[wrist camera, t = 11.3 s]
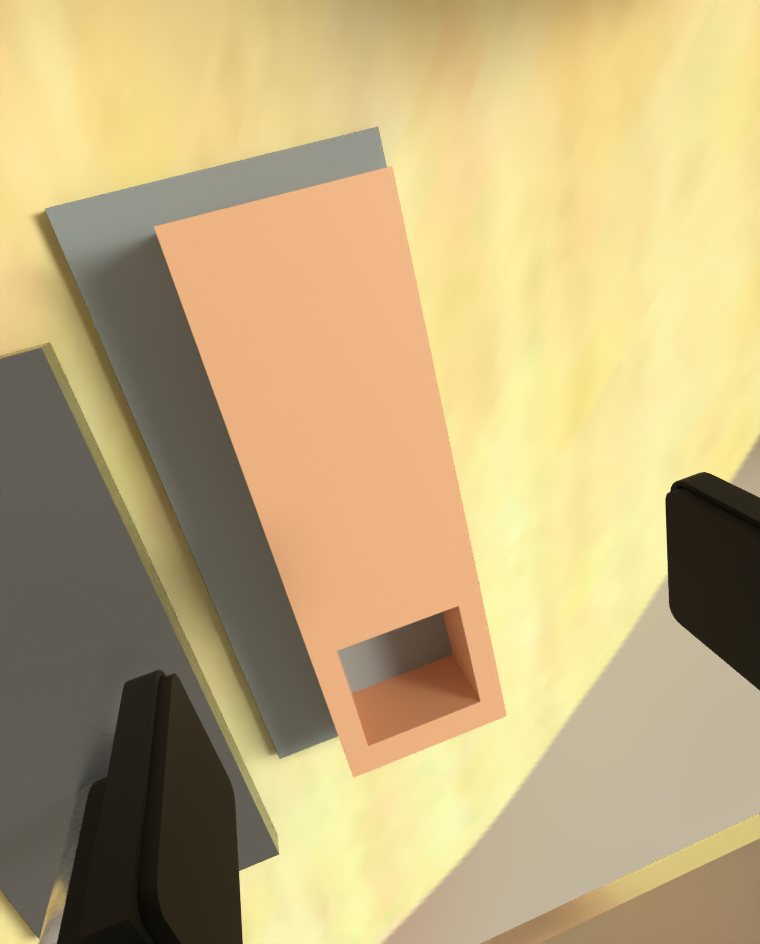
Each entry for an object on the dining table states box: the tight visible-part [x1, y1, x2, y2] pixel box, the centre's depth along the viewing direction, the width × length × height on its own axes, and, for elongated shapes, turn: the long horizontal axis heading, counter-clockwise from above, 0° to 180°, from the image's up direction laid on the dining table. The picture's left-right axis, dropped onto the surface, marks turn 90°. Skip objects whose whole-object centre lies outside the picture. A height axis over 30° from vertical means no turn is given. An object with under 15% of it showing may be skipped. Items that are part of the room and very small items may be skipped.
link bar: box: [154, 166, 506, 778], centre depth 21 cm, size 20×6×3 cm, turn 14°
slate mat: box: [45, 127, 453, 759], centre depth 22 cm, size 22×10×1 cm, turn 14°
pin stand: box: [0, 343, 279, 944], centre depth 18 cm, size 23×10×9 cm, turn 14°
